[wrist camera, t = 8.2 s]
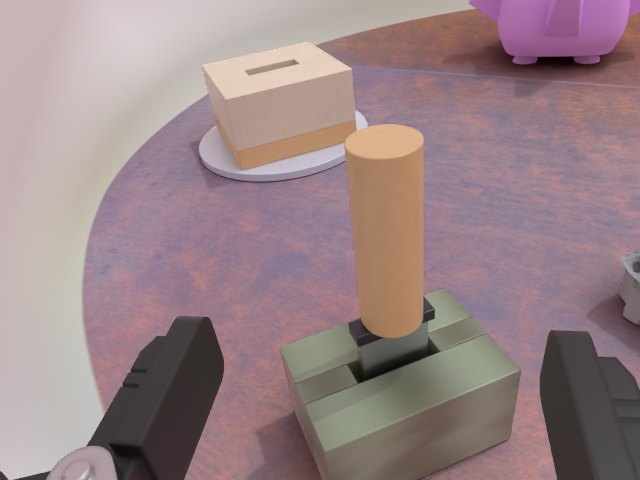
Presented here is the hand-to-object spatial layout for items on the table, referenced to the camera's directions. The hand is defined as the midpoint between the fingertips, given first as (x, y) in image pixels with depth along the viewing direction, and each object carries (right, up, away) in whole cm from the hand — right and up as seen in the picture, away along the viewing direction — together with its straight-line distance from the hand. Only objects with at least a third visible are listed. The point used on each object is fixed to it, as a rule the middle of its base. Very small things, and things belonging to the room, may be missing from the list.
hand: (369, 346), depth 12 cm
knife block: (+3, -7, +14) cm, 15 cm away
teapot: (+30, +27, +56) cm, 69 cm away
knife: (+3, -7, +14) cm, 15 cm away
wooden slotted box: (-5, +13, +43) cm, 45 cm away
